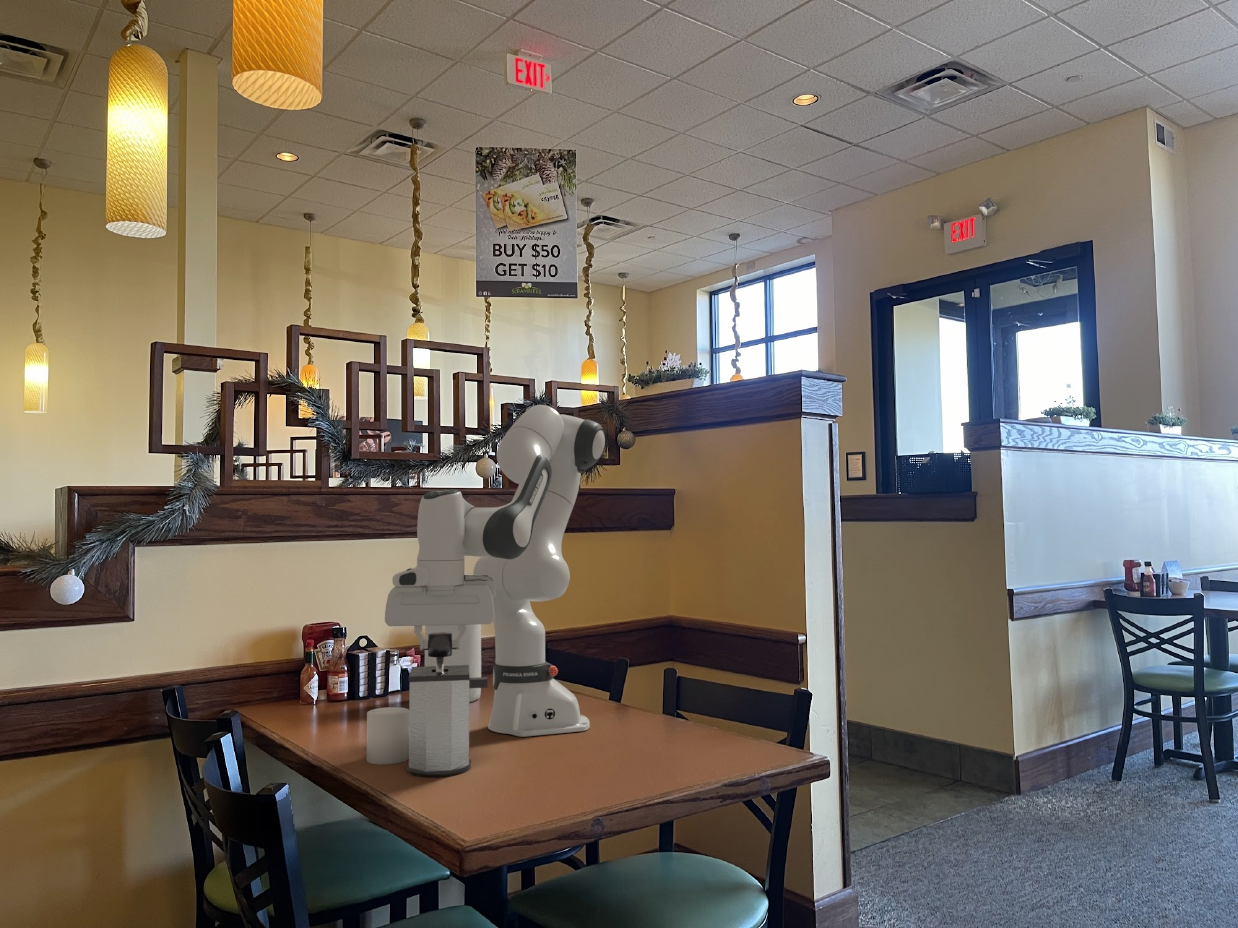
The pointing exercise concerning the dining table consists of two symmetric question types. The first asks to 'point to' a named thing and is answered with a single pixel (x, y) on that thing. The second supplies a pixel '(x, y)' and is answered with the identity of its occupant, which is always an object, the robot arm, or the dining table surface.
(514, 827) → the dining table surface
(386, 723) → the diner mug
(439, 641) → the pump plunger
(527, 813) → the dining table surface
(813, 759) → the dining table surface
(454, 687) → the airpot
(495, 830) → the dining table surface
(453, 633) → the vase
